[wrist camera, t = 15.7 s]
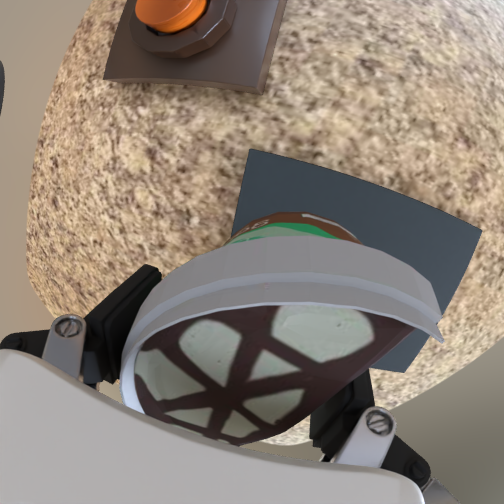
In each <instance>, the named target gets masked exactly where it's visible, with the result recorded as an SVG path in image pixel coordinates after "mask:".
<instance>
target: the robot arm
mask: <svg viewBox="0 0 504 504" xmlns="http://www.w3.org/2000/svg"><path fill="white" fill-rule="evenodd" d="M161 278H162V274H161V272H159V270H158V268H157V267H154V266H151V265H148V264H145V265H143V266H142V267H141V268H140V269H138V270H137V271H136V272H135V273H134V274H133V275H132V276H130V277H129V278H128V279H127V280H126V281H125V282H124V283H122V284H121V285H120V286H119V287H118V288H116V289H115V290H114V291H113V292H112V293H111V294H109V295H108V296H107V297H106V298H105V299H104V300H103V301H102V302H101V303H100V304H98V305H97V306H96V307H95V308H94V309H93V310H92V311H91V312H90V313H89V314H88V315H87V316H86V317H84V318H82V317H80V316H78V315H74V314H66V315H62V316H60V317H58V318H56V319H55V320H54V322H53V323H52V325H51V329H49V330H40V331H30V332H19V333H13V334H10V335H8V336H6V337H5V338H4V339H3V340H2V342H1V344H0V504H460V502H459V501H458V500H457V499H456V498H455V497H454V496H453V495H452V494H451V493H450V492H449V491H448V490H447V489H446V488H445V487H444V486H443V485H442V484H441V483H440V482H439V481H438V480H437V479H436V478H435V477H434V478H432V479H431V478H430V474H431V471H430V467H429V465H428V463H427V462H426V461H425V459H423V458H422V457H421V456H420V455H418V454H417V453H416V452H415V451H414V450H413V449H411V448H410V447H409V446H408V445H407V444H406V443H404V442H403V441H402V440H401V439H400V438H399V437H398V436H396V435H395V432H396V429H397V424H396V420H395V418H394V416H393V415H392V413H391V412H389V411H388V410H387V409H385V408H382V407H378V406H375V402H374V396H373V390H372V384H371V379H370V373H369V369H367V370H366V371H365V372H364V373H362V374H361V375H360V376H358V377H357V378H355V379H354V380H353V381H351V382H350V383H349V384H347V385H346V386H345V387H344V388H343V389H341V390H340V391H339V392H338V393H336V394H335V395H334V396H332V397H331V398H330V399H329V400H327V401H326V402H325V403H324V404H322V405H321V406H320V407H319V408H317V409H316V410H315V411H314V412H312V413H311V416H310V433H309V438H310V439H313V447H319V448H321V451H322V452H323V453H324V454H323V456H322V457H321V458H320V460H319V461H312V460H304V459H297V458H291V457H285V456H279V455H274V454H269V453H264V452H259V451H255V450H250V449H246V448H242V447H238V446H234V445H231V444H227V443H223V442H220V441H216V440H213V439H210V438H207V437H203V436H200V435H197V434H194V433H191V432H188V431H186V430H183V429H180V428H177V427H175V426H172V425H169V424H167V423H164V422H162V421H159V420H157V419H155V418H152V417H150V416H147V415H145V414H143V413H141V412H138V411H136V410H134V409H132V408H130V407H128V406H125V405H123V404H121V403H119V402H117V401H115V400H113V399H111V398H109V397H108V396H106V395H104V394H102V393H100V392H99V384H100V382H102V381H103V380H105V381H107V382H109V383H111V384H114V383H115V381H116V380H117V379H118V380H120V371H121V358H122V352H123V349H124V346H125V343H126V340H127V338H128V335H129V333H130V330H131V328H132V325H133V323H134V321H135V318H136V316H137V314H138V311H139V309H140V307H141V305H142V304H143V302H144V301H145V299H146V298H147V296H148V295H149V294H150V292H151V291H152V289H153V288H154V287H155V286H156V285H157V284H158V283H159V282H161Z"/></svg>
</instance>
